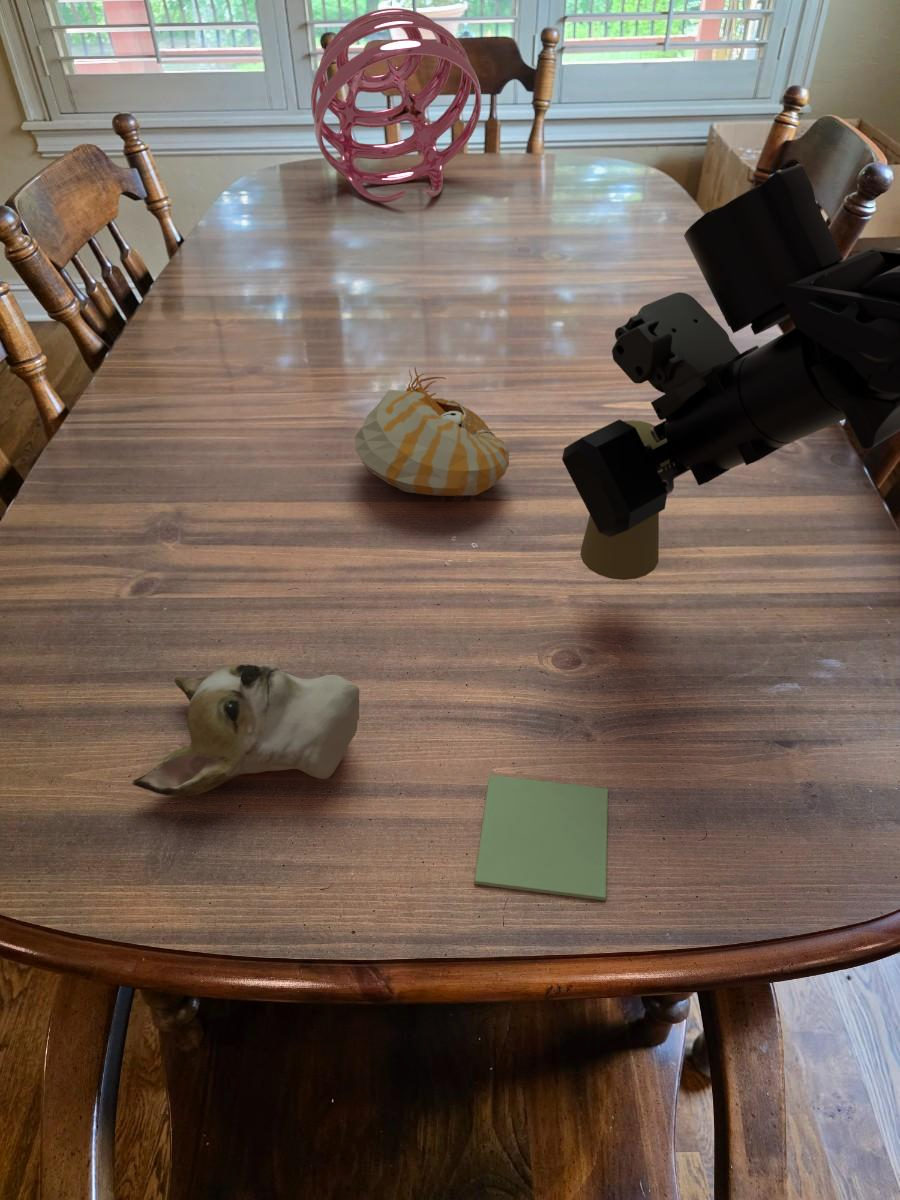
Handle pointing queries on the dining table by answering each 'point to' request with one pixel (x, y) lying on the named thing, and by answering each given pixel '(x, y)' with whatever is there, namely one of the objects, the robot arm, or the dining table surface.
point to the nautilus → (430, 444)
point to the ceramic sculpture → (257, 728)
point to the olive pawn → (625, 537)
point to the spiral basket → (406, 111)
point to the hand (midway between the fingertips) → (614, 476)
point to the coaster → (544, 838)
